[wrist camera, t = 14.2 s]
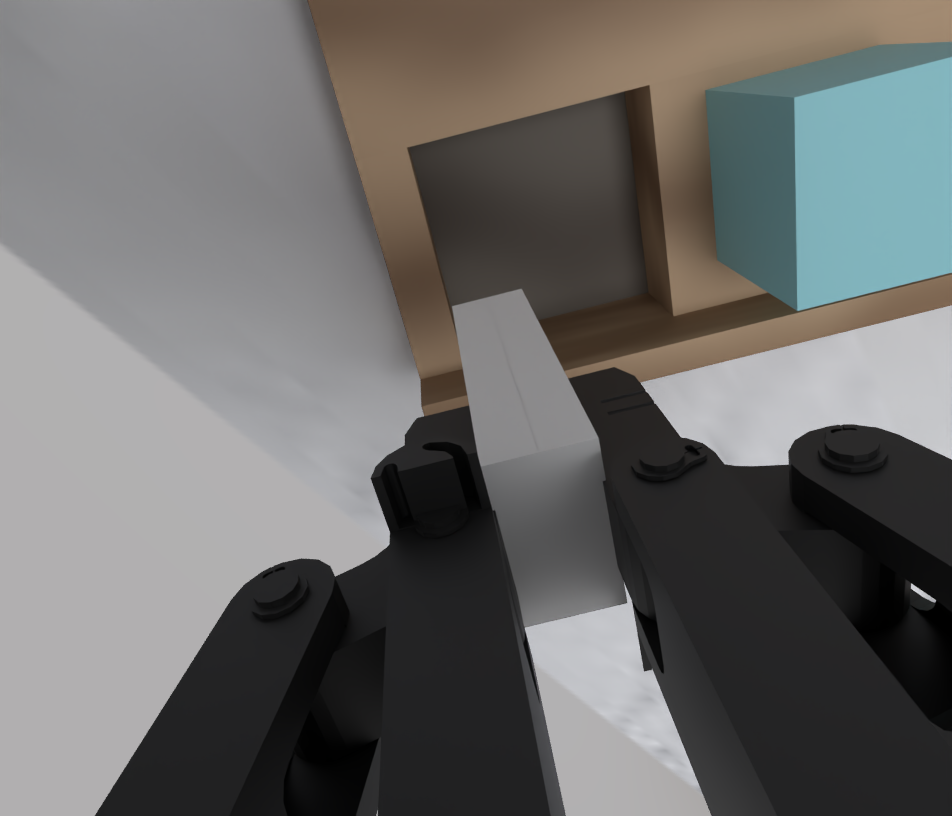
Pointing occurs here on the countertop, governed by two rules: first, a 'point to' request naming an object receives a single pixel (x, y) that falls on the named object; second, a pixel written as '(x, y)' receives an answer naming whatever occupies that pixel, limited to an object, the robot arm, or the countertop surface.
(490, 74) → the trap board
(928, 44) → the teal block
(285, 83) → the countertop surface
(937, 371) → the countertop surface
